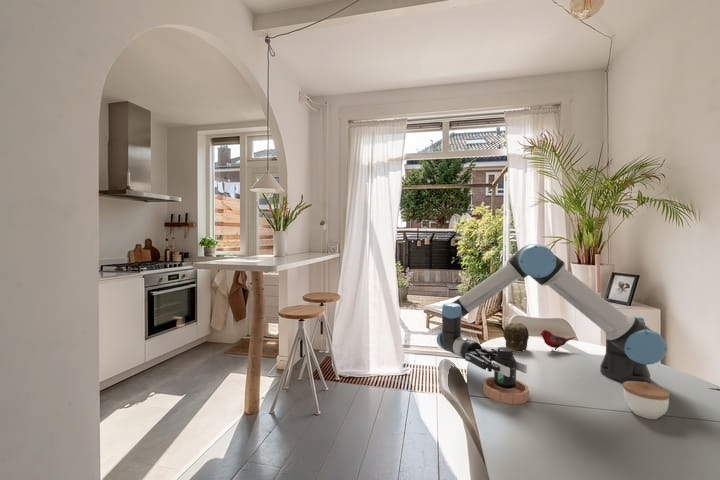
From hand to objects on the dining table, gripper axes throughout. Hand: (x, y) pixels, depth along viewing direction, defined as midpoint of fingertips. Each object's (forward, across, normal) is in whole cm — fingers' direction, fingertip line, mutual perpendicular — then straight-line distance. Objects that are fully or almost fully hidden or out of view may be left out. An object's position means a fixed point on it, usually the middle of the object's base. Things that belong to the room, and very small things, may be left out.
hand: (517, 370), depth 110 cm
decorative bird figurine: (-28, -58, -10) cm, 65 cm away
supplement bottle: (-5, 0, -7) cm, 8 cm away
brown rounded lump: (-38, -43, -10) cm, 58 cm away
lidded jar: (+22, -28, -10) cm, 37 cm away
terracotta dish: (-5, 0, -10) cm, 11 cm away
